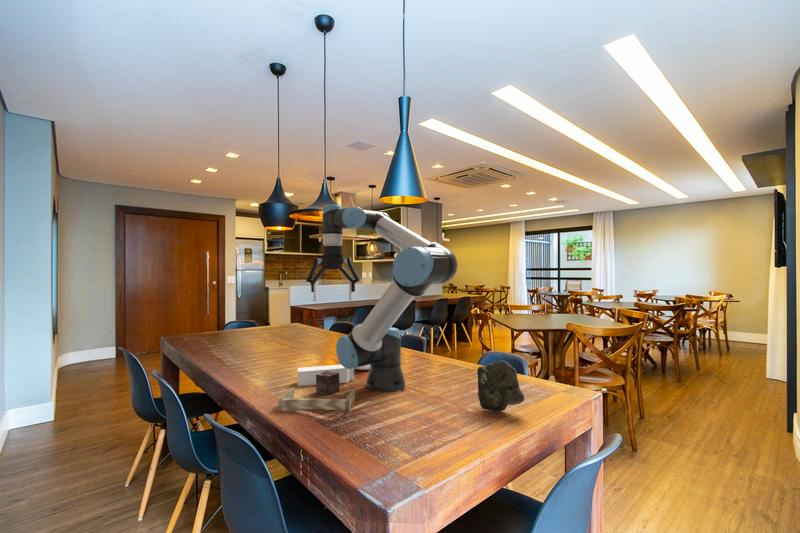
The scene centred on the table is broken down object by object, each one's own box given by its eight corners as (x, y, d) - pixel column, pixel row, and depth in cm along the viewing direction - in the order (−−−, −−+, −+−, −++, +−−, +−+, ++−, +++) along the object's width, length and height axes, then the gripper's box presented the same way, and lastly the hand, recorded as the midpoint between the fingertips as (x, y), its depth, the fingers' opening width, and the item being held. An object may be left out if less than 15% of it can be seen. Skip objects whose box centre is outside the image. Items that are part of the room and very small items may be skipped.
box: (339, 392, 140) (339, 372, 140) (328, 397, 135) (328, 376, 135) (327, 389, 143) (327, 370, 143) (315, 394, 138) (315, 374, 138)
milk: (297, 367, 152) (352, 363, 158) (297, 383, 152) (353, 377, 158) (297, 371, 146) (355, 366, 152) (297, 387, 146) (355, 382, 152)
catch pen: (355, 400, 131) (355, 388, 131) (348, 413, 120) (348, 400, 120) (290, 399, 133) (290, 388, 133) (278, 412, 121) (278, 399, 121)
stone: (474, 411, 121) (473, 364, 121) (481, 401, 130) (481, 356, 130) (522, 419, 115) (522, 368, 115) (526, 407, 124) (526, 360, 124)
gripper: (366, 245, 151) (366, 299, 151) (303, 246, 152) (303, 299, 152) (363, 244, 144) (364, 301, 144) (297, 245, 145) (298, 301, 145)
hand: (333, 300), depth 148 cm, fingers open, 13 cm apart
